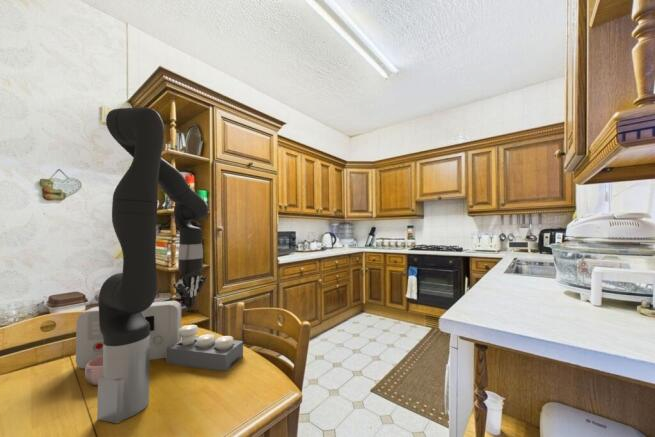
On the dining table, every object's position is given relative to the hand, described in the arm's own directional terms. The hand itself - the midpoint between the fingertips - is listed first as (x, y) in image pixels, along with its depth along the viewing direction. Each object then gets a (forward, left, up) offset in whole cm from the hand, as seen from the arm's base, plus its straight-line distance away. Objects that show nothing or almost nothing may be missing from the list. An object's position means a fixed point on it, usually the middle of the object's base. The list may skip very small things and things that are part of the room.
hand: (190, 307), depth 90 cm
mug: (-15, +15, -17) cm, 27 cm away
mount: (0, -6, -17) cm, 18 cm away
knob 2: (0, -6, -16) cm, 17 cm away
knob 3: (0, -13, -16) cm, 21 cm away
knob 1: (0, +1, -13) cm, 13 cm away
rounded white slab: (-5, +19, -17) cm, 26 cm away
